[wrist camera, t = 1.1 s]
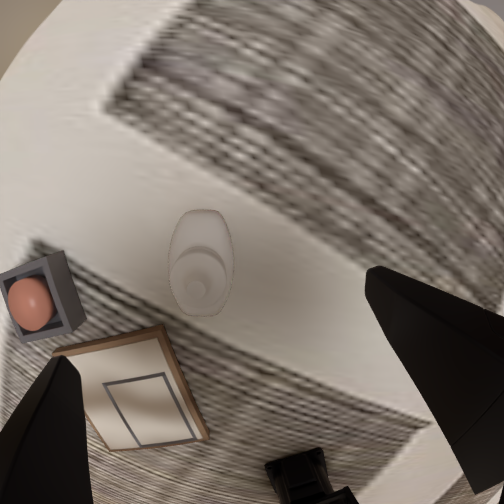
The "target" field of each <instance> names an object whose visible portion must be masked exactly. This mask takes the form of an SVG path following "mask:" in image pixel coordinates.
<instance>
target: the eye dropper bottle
mask: <svg viewBox="0 0 504 504" xmlns="http://www.w3.org/2000/svg"><path fill="white" fill-rule="evenodd" d="M168 271H169V279H170V280H169V282H170V285H171V286H170V288H171V290H172V293H173V294H174V297H175V299H176V301H177V303H178V305H179V307H180V309H181V310H182V311H183V312H184V313H185V314H187V315H190V316H213V315H216V314H218V313H219V312H220V311H221V310H222V308H223V307H224V305H225V303H226V300H227V298H228V295H229V292H230V289H231V285H232V280H233V273H234V255H233V247H232V242H231V238H230V234H229V231H228V228H227V225H226V223H225V221H224V219H223V217H222V215H221V214H220V213H219V212H218V211H215V210H193V211H189V212H186V213H185V214H184V215H183V216H182V217H181V218H180V220H179V222H178V224H177V226H176V228H175V231H174V234H173V237H172V240H171V244H170V250H169V258H168Z"/></svg>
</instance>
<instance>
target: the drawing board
mask: <svg viewBox="0 0 504 504" xmlns="http://www.w3.org/2000/svg"><path fill="white" fill-rule="evenodd" d="M52 355H53V357H54V356H59V355H64V356H66V357H67V358H68V359H69V360H70V362H71V363H72V364H73V365H74V366H75V367H76V369H77V370H78V371H79V373H80V375H81V381H82V393H83V402H84V411H85V416H86V418H87V419H88V421H89V422H90V424H91V426H92V427H93V429H94V430H95V432H96V433H97V435H98V436H99V438H100V439H101V440H102V442H103V443H104V445H105V446H106V448H107V449H108V450H109V452H114V451H129V450H141V449H150V448H159V447H167V446H174V445H181V444H187V443H193V442H199V441H204V440H210V436H209V430H208V428H207V426H206V424H205V422H204V419H203V417H202V415H201V413H200V411H199V409H198V407H197V405H196V402H195V400H194V398H193V396H192V394H191V391H190V389H189V387H188V385H187V382H186V380H185V378H184V375H183V373H182V371H181V368H180V366H179V363H178V361H177V359H176V356H175V354H174V351H173V349H172V346H171V344H170V341H169V338H168V336H167V333H166V331H165V328H164V325H163V324H162V325H158V326H154V327H150V328H146V329H142V330H137V331H133V332H129V333H125V334H120V335H116V336H112V337H107V338H103V339H98V340H93V341H89V342H84V343H79V344H75V345H70V346H65V347H60V348H57V349H56V350H55V351H54V352H53V353H52Z"/></svg>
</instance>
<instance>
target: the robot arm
mask: <svg viewBox="0 0 504 504" xmlns="http://www.w3.org/2000/svg"><path fill="white" fill-rule="evenodd" d="M365 296H366V299H367V301H368V303H369V305H370V307H371V309H372V311H373V312H374V314H375V316H376V318H377V320H378V322H379V324H380V326H381V328H382V330H383V332H384V334H385V336H386V338H387V340H388V342H389V343H390V345H391V347H392V348H393V350H394V351H395V353H396V354H397V356H398V358H399V359H400V361H401V362H402V364H403V366H404V367H405V369H406V370H407V372H408V374H409V375H410V377H411V379H412V380H413V382H414V384H415V385H416V387H417V388H418V390H419V392H420V394H421V395H422V397H423V399H424V400H425V402H426V404H427V405H428V407H429V409H430V411H431V412H432V414H433V416H434V418H435V419H436V421H437V423H438V425H439V426H440V428H441V430H442V432H443V434H444V435H445V437H446V439H447V441H448V443H449V445H450V446H451V449H452V451H453V453H454V454H455V456H456V458H457V460H458V462H459V464H460V466H461V468H462V470H463V472H464V474H465V476H466V478H467V480H468V482H469V484H470V486H471V488H472V490H473V492H474V493H475V495H476V494H478V493H480V492H483V491H485V490H487V489H489V488H491V487H493V486H495V485H497V484H499V483H500V482H502V481H504V317H503V316H501V315H498V314H496V313H494V312H491V311H489V310H487V309H483V308H482V307H480V306H477V305H475V304H473V303H470V302H468V301H466V300H463V299H461V298H459V297H456V296H454V295H452V294H449V293H447V292H445V291H442V290H440V289H437V288H435V287H433V286H430V285H428V284H425V283H423V282H420V281H418V280H416V279H413V278H411V277H408V276H406V275H403V274H401V273H398V272H396V271H393V270H391V269H388V268H386V267H383V266H376V267H373V268H370V269H368V270H367V272H366V281H365ZM265 470H266V472H267V475H268V477H269V479H270V481H271V484H272V486H273V488H274V490H275V493H277V494H278V497H279V501H280V504H359V503H358V501H357V500H356V498H355V497H354V495H353V493H352V492H351V490H350V488H349V487H348V486H346V487H344V488H343V489H341V490H338V491H336V492H334V490H333V488H332V486H331V484H330V481H329V479H328V474H327V469H326V463H325V458H324V453H323V450H322V448H317V449H314V450H311V451H308V452H305V453H302V454H298V455H295V456H292V457H288V458H285V459H282V460H278V461H274V462H271V463H267V464H266V465H265ZM0 504H94V503H93V497H92V490H91V482H90V473H89V464H88V452H87V436H86V420H85V411H84V402H83V393H82V381H81V375H80V373H79V371H78V370H77V369H76V367H75V366H74V365H73V364H72V363H71V362H70V360H69V359H68V358H67V357H66V356H64V355H59V356H54V357H52V358H51V359H50V361H49V362H48V363H47V365H46V366H45V367H44V369H43V370H42V371H41V373H40V374H39V376H38V377H37V378H36V380H35V381H34V383H33V384H32V385H31V387H30V388H29V390H28V391H27V392H26V394H25V395H24V397H23V398H22V400H21V401H20V403H19V404H18V406H17V407H16V409H15V410H14V412H13V413H12V415H11V416H10V418H9V419H8V421H7V422H6V424H5V426H4V427H3V429H2V430H1V432H0ZM499 504H504V485H503V489H502V493H501V497H500V501H499Z"/></svg>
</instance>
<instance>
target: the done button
mask: <svg viewBox="0 0 504 504" xmlns="http://www.w3.org/2000/svg"><path fill="white" fill-rule="evenodd" d="M8 305H9V309H10V312H11V314H12V316H13V318H14V319H15V321H16V322H17V323H18V324H19V325H20V326H21V327H23V328H24V329H26V330H30V331H36V330H38V329H40V328H41V327H43V326H44V325H45V324H46V323H48V322H49V321H50V320H52V319H53V318H54V316H55V315H56V312H57V308H56V305H55V302H54V299H53V297H52V294H51V291H50V288H49V285H48V282H47V280H46V279H45V278H43V277H41V276H39V275H31V276H28V277H26V278H24V279H21V280H19V281H17V282H15V283H14V284H13V285H12V286H11V288H10V290H9V293H8Z"/></svg>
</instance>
